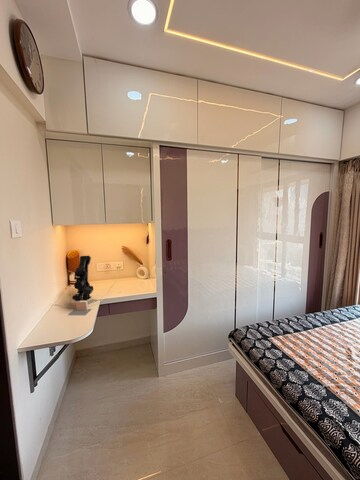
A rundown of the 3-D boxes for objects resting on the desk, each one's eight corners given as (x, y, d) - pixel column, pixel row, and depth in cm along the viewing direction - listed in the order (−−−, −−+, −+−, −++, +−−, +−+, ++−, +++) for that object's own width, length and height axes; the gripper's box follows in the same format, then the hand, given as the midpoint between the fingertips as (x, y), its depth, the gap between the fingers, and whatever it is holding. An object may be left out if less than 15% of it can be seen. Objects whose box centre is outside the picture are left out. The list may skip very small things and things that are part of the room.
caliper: (92, 298, 178) (98, 299, 176) (92, 300, 178) (98, 300, 176) (74, 309, 158) (80, 309, 157) (74, 310, 158) (80, 311, 157)
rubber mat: (74, 309, 161) (74, 308, 161) (92, 309, 160) (91, 308, 160) (67, 315, 151) (67, 315, 151) (85, 316, 150) (85, 315, 150)
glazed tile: (78, 309, 160) (77, 300, 159) (87, 309, 160) (87, 300, 159) (76, 310, 158) (75, 301, 157) (86, 310, 158) (85, 301, 157)
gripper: (85, 288, 156) (86, 308, 158) (96, 280, 175) (97, 298, 177) (71, 289, 157) (73, 308, 159) (83, 280, 175) (85, 298, 177)
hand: (83, 302), depth 168 cm, fingers open, 9 cm apart
